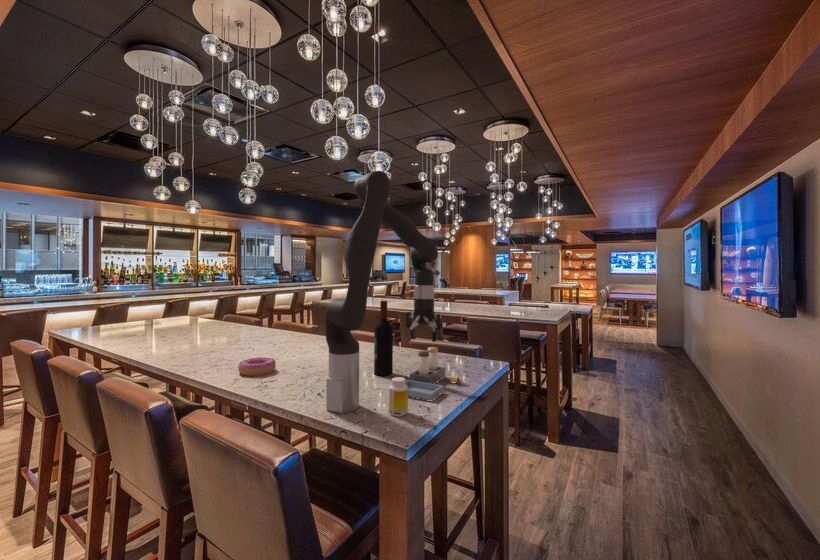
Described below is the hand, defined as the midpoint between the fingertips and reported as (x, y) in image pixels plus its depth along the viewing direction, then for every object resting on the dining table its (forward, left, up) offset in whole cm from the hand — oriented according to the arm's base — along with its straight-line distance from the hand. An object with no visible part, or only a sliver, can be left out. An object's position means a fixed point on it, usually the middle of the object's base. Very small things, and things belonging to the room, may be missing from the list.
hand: (423, 340), depth 135 cm
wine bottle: (+3, +20, -17) cm, 26 cm away
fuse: (+8, 0, -16) cm, 18 cm away
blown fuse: (0, 0, -16) cm, 16 cm away
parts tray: (-11, -3, -16) cm, 20 cm away
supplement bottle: (-30, -6, -17) cm, 34 cm away
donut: (-20, +67, -17) cm, 72 cm away
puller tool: (+9, -8, -16) cm, 21 cm away
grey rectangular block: (+4, 0, -16) cm, 17 cm away
